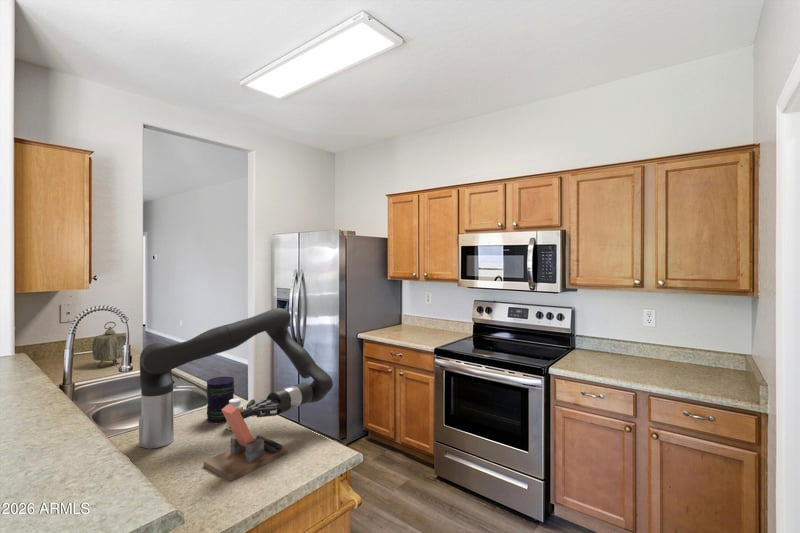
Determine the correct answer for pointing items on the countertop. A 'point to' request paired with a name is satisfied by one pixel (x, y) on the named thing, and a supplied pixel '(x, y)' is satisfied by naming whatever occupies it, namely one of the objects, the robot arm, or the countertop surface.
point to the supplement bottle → (235, 403)
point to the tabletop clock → (108, 346)
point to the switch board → (245, 457)
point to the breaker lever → (237, 425)
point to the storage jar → (219, 397)
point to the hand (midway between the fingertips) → (239, 415)
